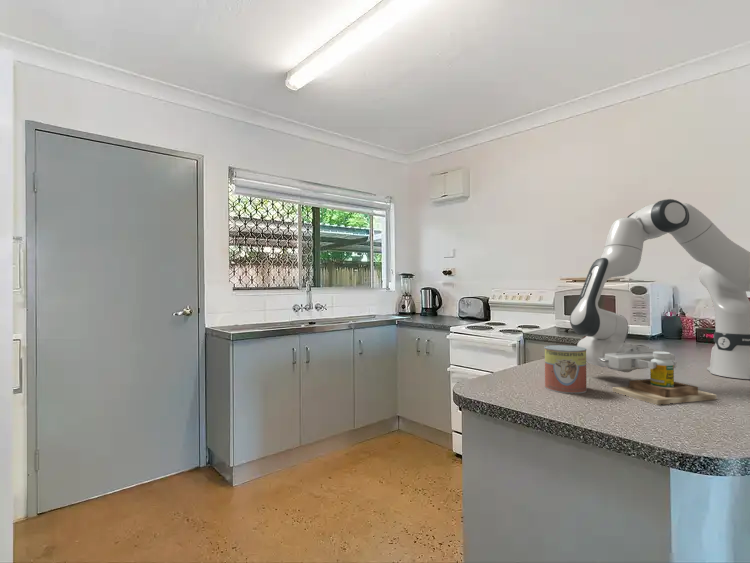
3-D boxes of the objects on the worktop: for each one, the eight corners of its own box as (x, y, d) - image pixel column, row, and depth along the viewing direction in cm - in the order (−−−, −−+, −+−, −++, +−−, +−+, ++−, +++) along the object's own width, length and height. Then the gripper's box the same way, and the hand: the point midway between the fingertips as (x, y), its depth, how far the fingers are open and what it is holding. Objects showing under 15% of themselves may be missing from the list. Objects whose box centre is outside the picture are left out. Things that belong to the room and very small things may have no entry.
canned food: (545, 391, 121) (545, 349, 121) (544, 383, 132) (543, 344, 132) (589, 394, 117) (588, 351, 117) (584, 385, 128) (583, 346, 128)
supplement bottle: (655, 384, 120) (655, 350, 120) (677, 388, 116) (677, 352, 116) (646, 386, 117) (646, 352, 117) (668, 390, 113) (668, 354, 113)
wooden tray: (667, 387, 126) (667, 376, 126) (716, 399, 112) (716, 387, 112) (612, 391, 120) (612, 380, 120) (657, 405, 107) (656, 392, 107)
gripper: (594, 348, 126) (634, 355, 113) (649, 345, 132) (693, 352, 118) (594, 369, 126) (634, 379, 113) (649, 365, 132) (693, 374, 118)
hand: (664, 365), depth 116 cm, fingers closed on supplement bottle, 5 cm apart
